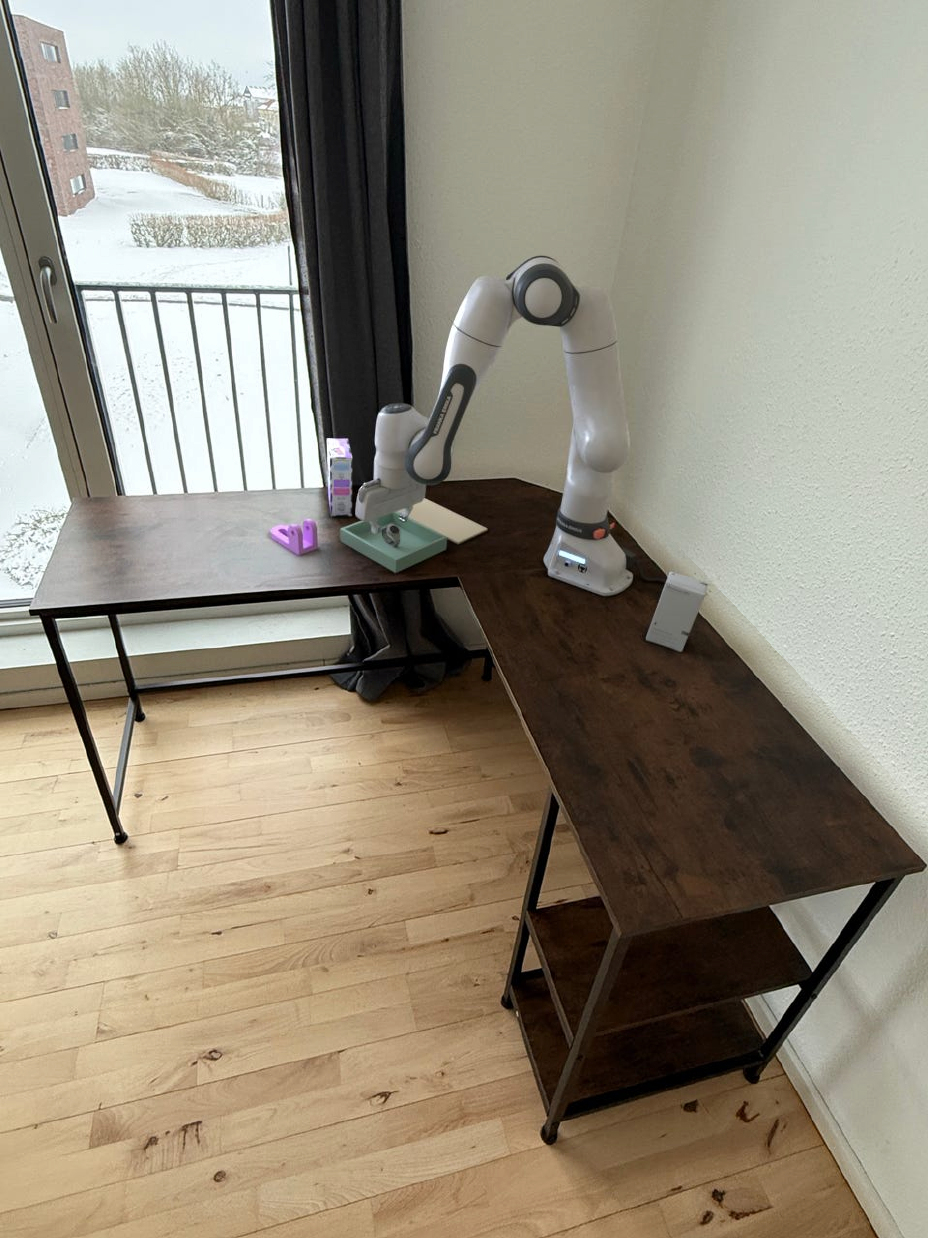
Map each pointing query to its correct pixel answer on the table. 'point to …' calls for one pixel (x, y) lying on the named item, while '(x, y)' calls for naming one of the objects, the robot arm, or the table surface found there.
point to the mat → (445, 521)
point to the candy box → (339, 477)
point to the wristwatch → (392, 531)
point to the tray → (413, 540)
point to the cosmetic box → (676, 611)
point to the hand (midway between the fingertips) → (390, 526)
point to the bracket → (297, 536)
